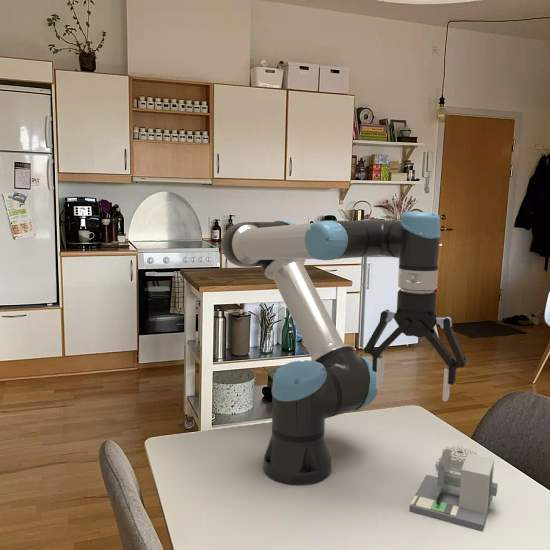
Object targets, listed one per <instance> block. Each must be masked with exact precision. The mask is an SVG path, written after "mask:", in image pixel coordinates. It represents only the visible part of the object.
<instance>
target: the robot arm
mask: <svg viewBox="0 0 550 550" xmlns="http://www.w3.org/2000/svg"><path fill="white" fill-rule="evenodd" d="M441 236H442V234H441V218H440V216H439V214H438V213H436V212H434V211H433V212H431V211H404V212H402V214H401V216H400V220H390V219H389V220H388V219H380V218H366V219H359V220H320V221H316V222H311V223H310V222H308V223H299V224H297V223H294V222H291V221H285V220H275V221H244V222H242V221H241V222H239V223H236V224H233V225H231V226H230V227H228V228H227V229H226V231H225V232H224V234H223V236H222V238H221V251H222V254H223V256H224V258H225V259H226V260H227V261H229V262H230V263H231V264H232V265H235V266H238V267H241V268H242V267H243V268H253V267H254V268H256V267H261V269H262V271H263V273H264V275H265V277H266V278H267V279H270V280H273V281H274V283H275V286H276V288H277V289H278V291H279V293H280V295H281V297H282V300H283V302H284V304H285V306H286V308H287V310H288V312H289V314H290V316H291V318H292V321H293V322H294V324H295V327H296V329H297V331H298V333H299V335H300V338H301V339H302V341H303V344H304V346H305V348H306V350H307V352H308V354H309V357H310V358H311V359H310V360H306V359H305V360H302V361H301V360H296V361H295V360H294V361H290V362H288V363H285V364H283V365H281V366H279V367H278V368H277V370H275V371H274V374H273V377H272V386H271V395H272V396H271V397H272V399H271V400H272V401H271V403H272V405H271V408H272V409H271V410H272V413H271V414H272V415H271V436H270V438H269V442H268V444H267V446H266V447H267V448H266V450H265V453H264V456H263V472H264V473H265V474H266V475H267V476H268V477H269V478H271V479H272V480H275V481H277V482H279V483H283V484H288V485H296V486H299V485H300V486H301V485H303V486H304V485H312V484H315V483H319V482H322V481H324V480H325V479H326V478H328V477H329V476H330V474H331V473H332V457H331V453H330V450H329V448H328V447H329V446H328V444H327V440H326V438H325V424H326V422H325V421H326V419H329V418H332V417H336V416H339V415H342V414H347V413H349V412H352V411H354V412H355V411H359V410H360V409H362V408H365V407H367V406H369V405H370V404H372V402H374V400H375V399H376V396H377V394H378V390H381V388H382V387H383V386H384V381H385V357H386V356H385V355H381V354H382V353H383V352H384V351H386V349H387V348H388V347H390V345H391V344H392V343H394V342H395V340H396V339H397V338H398V337H399V336H401V335H402V334H403V335H405V336H406V337H413V336H414V337H415V338H420V339H421V338H424V337H425V339H426V340H427V341H428V342H430V344H431V345H432V347H433V348H434V350H435V351H436V352H437V353H438V354H439V356H440V358H441V359H442V360H443V362H444V363H445V365H446V366H445V367H444V370H443V387H442V399H441V400H442V402H448V400H449V398H450V391H451V390H450V387H451V385H453V386H454V384H455V383H456V379H457V378H456V377H457V369H458V368H464V367H465V366H466V365H467V362H468V361H467V360H468V359H467V358H466V356H465V354H464V350H463V349H462V346H461V344H460V342H459V339H458V337H457V334H456V332H455V330H454V328H453V317H452V316H448V315H447V316H446V317H437V313H436V312H437V311H436V310H437V296H438V295H437V293H436V292H435V290H437V289H438V280H439V279H438V278H439V277H438V276H439V274H438V272H439V265H438V264H439V252H440V243H441V242H440V241H441ZM367 257H368V258H369V257H389V258H397V259H398V277H397V278H398V279H397V286H398V288H399V290H398V291H397V301H396V312H393V311H390V310H389V309H384V310H383V311H381V312H380V318H379V321H378V324H377V325H376V327H375V329H374V331H373V333H371V336H370V338H369V339H368V342H367V343H366V345H365V347H364V349H363V352H364V353H365V354H369V355H371V356H372V361H371V360H370V359H368V358H366V357H364V356H358V355H357V353H356V351H355V349H354V347H353V345H351V344H347V343H344V341H343V339H342V338H341V335H340V334H339V332H338V329H337V328H336V326H335V324H334V322H333V320H332V318H331V316H330V314H329V313H328V310H327V309H326V307H325V304H324V302H323V301H322V299H321V296H320V295H319V293H318V291H317V289H316V287H315V285H314V283H313V281H312V279H311V277H310V276H309V274H308V271H307V269H306V267H305V262H306V260H318V261H321V260H322V261H334V260H342V259H352V258H367ZM393 319H394V321H395V322H396V324H397V326H398V327H397V328H396V329H395V330H393V332H391V334H389V336H388V337H387V338H386V339H384V341H383V342H382V343H381V344H380V345H379V346H378V347H375V346H376V344H377V343H378V341H379V340H380V337H381V336H382V334H383V332H384V330H385V329H386V327H387V325H388V324H389V323H390V322H392V320H393ZM437 324H438V325H439V326H440V328H441V329H442V330H443V331H444V336H445V338H446V340H447V341H448V342H447V343H448V344H449V347H450V349H451V351H452V353H451V352H450V351H449V349H448V348H447V347H446V345H445V344H444V342H443V341H442V340H441V338H440V337H439V336H438V333H437V332H436V330H435V329H434V327H436V325H437ZM452 354H453V355H452Z"/></svg>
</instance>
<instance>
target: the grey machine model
mask: <svg viewBox="0 0 550 550" xmlns="http://www.w3.org/2000/svg"><path fill="white" fill-rule="evenodd" d="M444 449H445V448H444ZM451 452H452V450H448V449H445V451H444V453H443V455H442V454H441V456H442V457H441V456H440V457H441V459H440V461H439V463H438V470H437V477H438V480H437V497H438V498H437V500H436V504H438V505H440V502H441V500H442V498H443V496H444V494H445V492H446V490H447V487H448V485H450V486H454V487H458V488H460V481H461V475H458V474H454V473H450V469H451ZM498 487H499V486H498V483H495V482H490V483H489V495H491V496H492V497H495V498H496V497H497V494H498Z"/></svg>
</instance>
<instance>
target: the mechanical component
mask: <svg viewBox="0 0 550 550" xmlns="http://www.w3.org/2000/svg"><path fill="white" fill-rule="evenodd" d="M445 449H448V450H452V452H451V469H450V473H454V474H458V475H461V469H462V466H463V464H464V462H465V459H466V457H467V454H468V453H472V454H476V455H479V454H478V453H477V451H474V450H472V448H467V447H464V446H463V445H461V446H460V445H454V444H453V445H452V446H446V447H445V448H443V449H442V453H441V455H440V456H439V457H437V459H436V461H435V467H436V470H437V471H438V463H439V461H440V459H441V457H442V455H443V453H444V451H445Z"/></svg>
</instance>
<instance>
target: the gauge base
mask: <svg viewBox="0 0 550 550" xmlns="http://www.w3.org/2000/svg"><path fill="white" fill-rule="evenodd" d="M476 454H477V453H476ZM476 454H472V453H468V454H467V457H466V459H465V462H464V464H463V466H462V469H461V481H460V488H458V487H454V486H450V485H448V487H447V490H446V492H445V494H444V496H443V498H442V500H441V502H440V505H438V504H436V500H437V498H438V497H437V480H438V476H434V475H430V474H426V475H425V476H424V478H423V480H422V482H421V484H420V485H419V487H418V489H417V491H416V493H415V495H414V496H413V498H412V500H411V502H410V504H409V512H412V513H415V514H418V515H421V516H426V517H428V518H433V519H435V520H436V519H437V520H439V521H443V522H447V523H451V524H456V525H458V526H461V527H465V528H470V529H473V530H477V531H481V532H483V531H484V528H485V524H486V520H487V517H488V513H489V509H490V506H491V502H492V499H493V496H491V495H489V483H490V482H493V481H494V466H495V458H494V457H491V456H489V457H488V456H484V455H480V454H478V455H476ZM493 483H494V482H493Z"/></svg>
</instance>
